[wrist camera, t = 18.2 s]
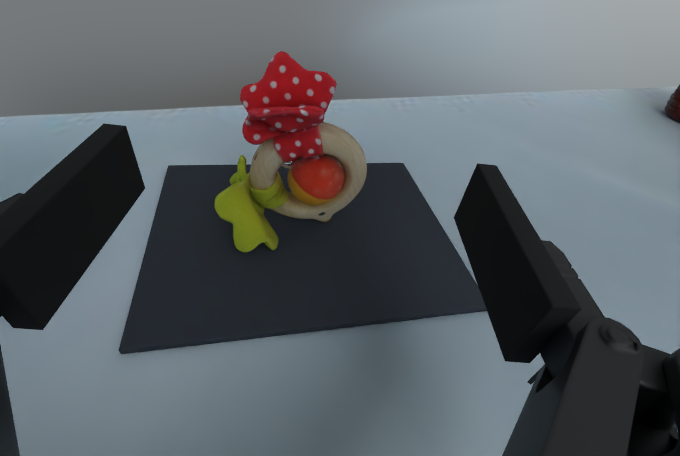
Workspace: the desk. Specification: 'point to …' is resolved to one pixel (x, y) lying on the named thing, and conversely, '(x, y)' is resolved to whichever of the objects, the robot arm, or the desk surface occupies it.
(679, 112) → the mug
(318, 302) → the mat
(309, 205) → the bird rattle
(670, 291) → the desk surface
